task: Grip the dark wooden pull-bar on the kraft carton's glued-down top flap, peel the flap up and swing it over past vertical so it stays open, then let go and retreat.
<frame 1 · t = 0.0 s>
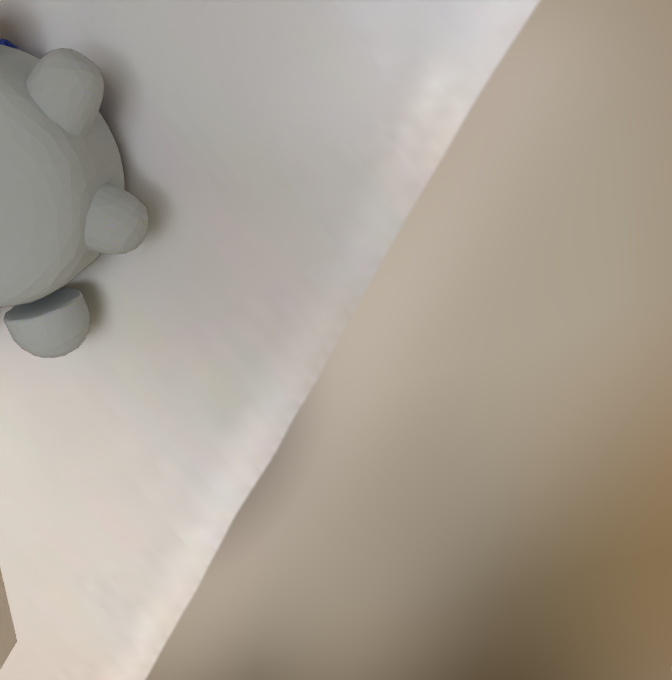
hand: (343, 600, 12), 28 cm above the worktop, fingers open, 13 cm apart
figurine: (12, 193, 38), on the worktop
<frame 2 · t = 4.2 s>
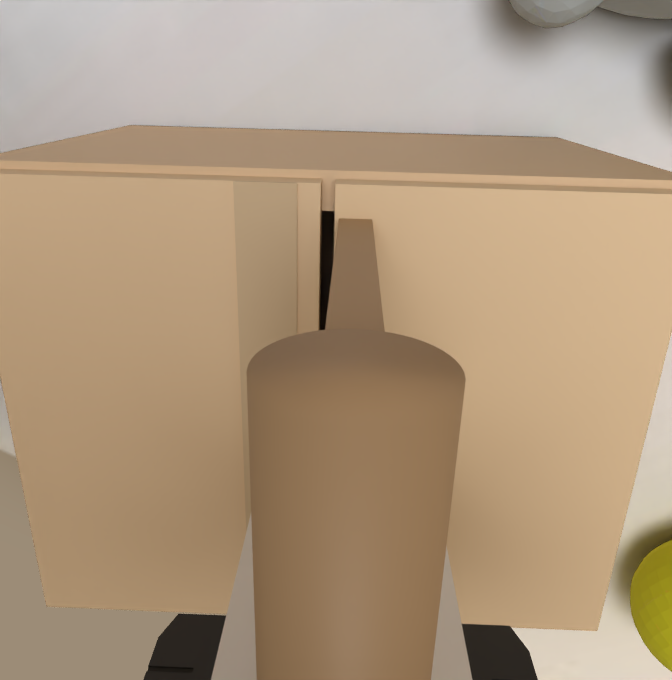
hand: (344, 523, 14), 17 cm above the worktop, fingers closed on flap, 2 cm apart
flap: (514, 563, 13), point 18 cm above the worktop, hinge at 0.0°, touching gripper
carton: (337, 289, 29), on the worktop
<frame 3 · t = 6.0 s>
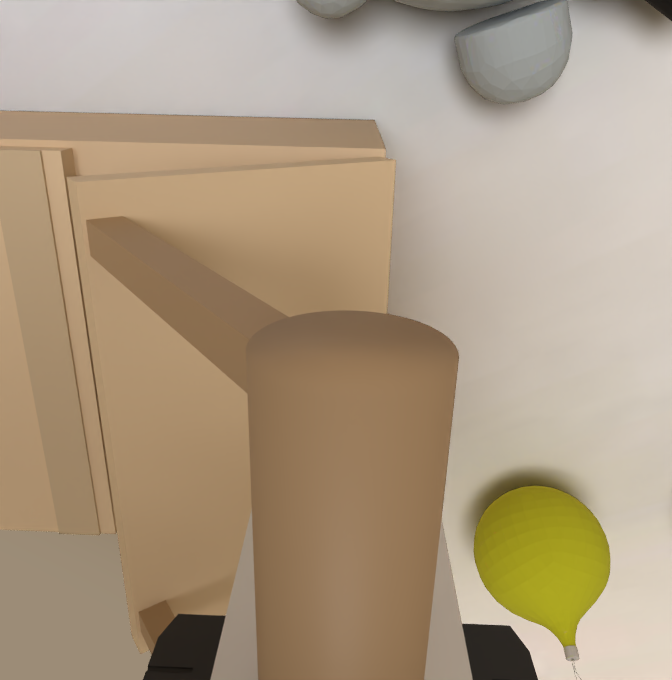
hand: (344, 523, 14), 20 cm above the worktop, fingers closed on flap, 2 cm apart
flap: (353, 505, 14), point 19 cm above the worktop, hinge at 35.8°, touching gripper
ornament: (523, 508, 38), on the worktop
carton: (192, 259, 32), on the worktop
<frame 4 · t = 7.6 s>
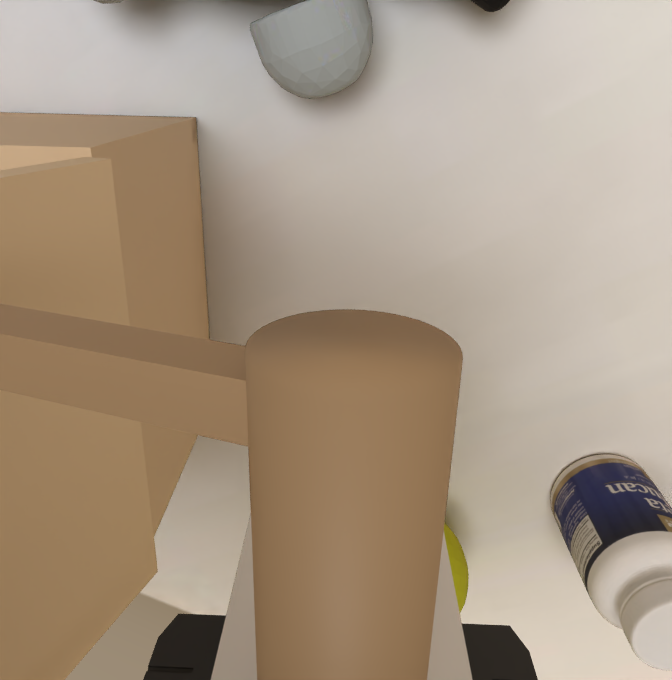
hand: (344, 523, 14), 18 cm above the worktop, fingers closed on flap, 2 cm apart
flap: (194, 529, 13), point 18 cm above the worktop, hinge at 71.7°, touching gripper
pill bottle: (596, 489, 35), on the worktop
ornament: (394, 526, 36), on the worktop
carton: (20, 265, 30), on the worktop
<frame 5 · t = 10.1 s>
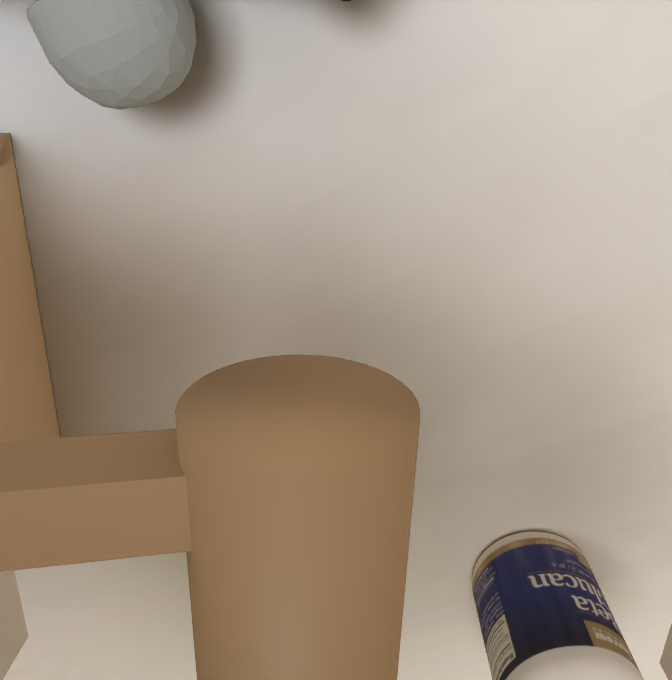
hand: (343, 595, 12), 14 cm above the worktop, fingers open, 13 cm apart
flap: (4, 660, 11), point 16 cm above the worktop, hinge at 102.3°, touching gripper
pill bottle: (526, 570, 30), on the worktop
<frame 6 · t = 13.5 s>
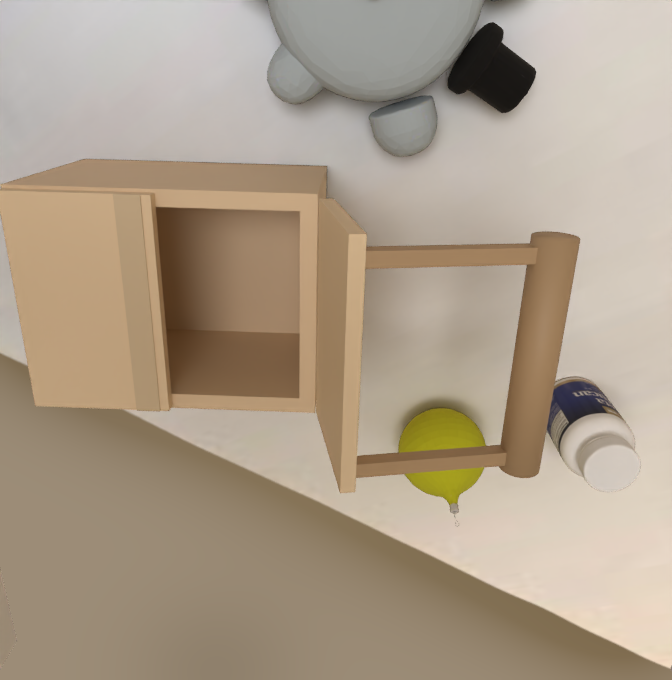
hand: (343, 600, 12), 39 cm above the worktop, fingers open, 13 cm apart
flap: (430, 337, 35), point 16 cm above the worktop, hinge at 101.6°
figurine: (391, 7, 43), on the worktop
pill bottle: (568, 402, 54), on the worktop
ornament: (436, 428, 55), on the worktop
carton: (210, 254, 49), on the worktop
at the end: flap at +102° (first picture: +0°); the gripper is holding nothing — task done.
